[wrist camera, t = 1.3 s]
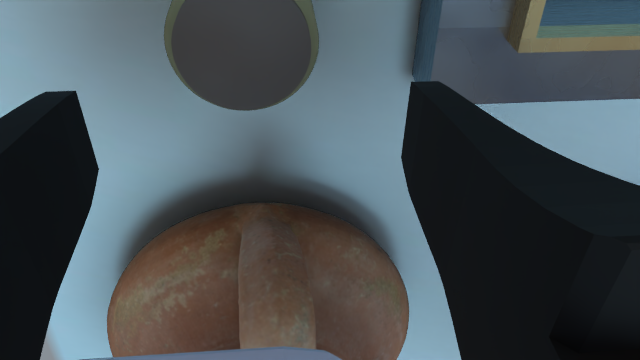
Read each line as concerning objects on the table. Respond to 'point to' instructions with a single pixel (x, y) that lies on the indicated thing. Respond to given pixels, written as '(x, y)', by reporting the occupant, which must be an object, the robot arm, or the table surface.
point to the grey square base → (530, 49)
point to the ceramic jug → (260, 287)
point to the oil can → (242, 49)
